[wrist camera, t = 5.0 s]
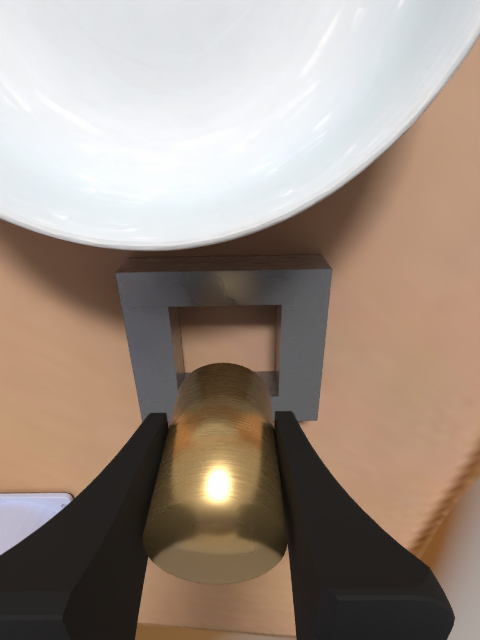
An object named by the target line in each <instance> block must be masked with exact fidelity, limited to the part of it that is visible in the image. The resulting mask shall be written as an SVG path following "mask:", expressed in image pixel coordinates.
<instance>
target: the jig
mask: <svg viewBox="0 0 480 640" xmlns="http://www.w3.org/2000/svg"><path fill="white" fill-rule="evenodd" d="M115 274H116V279H117V285H118V290H119V296H120V301H121V307H122V313H123V318H124V324H125V329H126V335H127V340H128V346H129V351H130V357H131V362H132V368H133V373H134V379H135V384H136V390H137V395H138V401H139V406H140V412H141V417H142V422H143V421H144V420H145V418H146V417H147V416H148V415H149V414H150V413H166V414H167V421H168V423H170V422H171V418H172V414H173V410H174V406H175V402H176V398H177V394H178V390H179V387H180V385H181V383H182V382H183V381H184V379H185V378H186V377H187V376H188V375H189V374H190V373H185V369H184V360H183V350H182V341H181V331H180V322H179V312H178V307H180V306H240V305H277V317H276V351H275V372H255V373H256V374H258V375H259V376H260V377H261V378H262V379H263V381H264V382H265V383H266V385H267V387H268V389H269V391H270V396H271V404H272V412H273V421H275V411H292V412H293V413H294V415H295V417H296V419H297V421H317V418H318V408H319V398H320V388H321V378H322V367H323V357H324V347H325V337H326V327H327V317H328V307H329V296H330V286H331V276H332V268H331V267H330V265H329V264H328V263H327V261H326V260H325V259H324V257H323V256H322V255H271V256H216V257H161V258H129V259H128V260H127V261H126V262H125V263H124V265H123V266H122V267H121V268H120V269H119V270H118V271H117V272H116V273H115Z"/></svg>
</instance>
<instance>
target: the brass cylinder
mask: <svg viewBox="0 0 480 640" xmlns="http://www.w3.org/2000/svg"><path fill="white" fill-rule="evenodd" d="M143 546H144V549H145V551H146V553H147V555H148V556H149V558H150V559H151V560H152V561H153V562H154V563H155V564H156V565H157V566H158V567H160V568H161V569H162V570H164V571H166V572H168V573H169V574H171V575H174V576H176V577H178V578H181V579H184V580H188V581H192V582H197V583H204V584H231V583H238V582H243V581H246V580H250V579H253V578H256V577H258V576H260V575H262V574H264V573H266V572H268V571H269V570H271V569H272V568H273V567H274V566H276V565H277V564H278V563H279V561H280V560H281V559H282V557H283V556H284V554H285V551H286V548H287V534H286V526H285V517H284V508H283V500H282V491H281V482H280V473H279V465H278V456H277V448H276V440H275V431H274V421H273V412H272V404H271V396H270V391H269V389H268V387H267V385H266V383H265V382H264V381H263V379H262V378H261V377H260V376H259V375H258V374H256V373H255V372H253V371H252V370H250V369H248V368H246V367H243V366H240V365H237V364H231V363H214V364H209V365H206V366H203V367H200V368H198V369H196V370H195V371H193V372H192V373H190V374H189V375H188V376H187V377H186V378H185V379H184V381H183V382H182V383H181V385H180V387H179V390H178V394H177V398H176V402H175V406H174V410H173V414H172V418H171V422H170V426H169V430H168V434H167V439H166V443H165V447H164V451H163V455H162V459H161V463H160V467H159V471H158V475H157V479H156V483H155V487H154V492H153V496H152V500H151V504H150V508H149V512H148V516H147V520H146V524H145V528H144V532H143Z"/></svg>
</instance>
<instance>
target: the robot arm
mask: <svg viewBox="0 0 480 640" xmlns="http://www.w3.org/2000/svg"><path fill="white" fill-rule="evenodd" d="M168 430H169V428H168V421H167V414H166V413H150V414H149V415H148V416H147V417H146V418H145V420H144V421H143V422H142V424H141V425H140V426H139V428H138V429H137V430H136V432H135V433H134V434H133V436H132V437H131V438H130V439H129V441H128V442H127V443H126V444H125V445H124V447H123V448H122V449H121V450H120V452H119V453H118V454H117V455H116V456H115V458H114V459H113V460H112V461H111V462H110V463H109V464H108V465H107V466H106V468H105V469H104V470H103V471H102V472H101V473H100V474H99V475H98V476H97V477H96V478H95V479H94V480H93V481H92V482H91V483H90V484H89V485H88V486H87V487H86V488H85V489H84V490H83V491H82V492H81V493H80V494H79V495H78V496H77V497H76V498H75V499H73V498H72V496H71V495H70V494H68V493H6V494H0V640H135V634H136V628H137V621H138V614H139V608H140V602H141V596H142V590H143V583H144V578H145V572H146V566H147V561H148V555H147V553H146V551H145V549H144V546H143V532H144V528H145V524H146V520H147V516H148V512H149V508H150V504H151V500H152V496H153V492H154V487H155V483H156V479H157V475H158V471H159V467H160V463H161V459H162V455H163V451H164V447H165V443H166V439H167V434H168ZM274 431H275V440H276V448H277V456H278V465H279V473H280V482H281V491H282V500H283V508H284V517H285V526H286V534H287V544H288V550H289V560H290V570H291V581H292V592H293V603H294V614H295V625H296V637H297V640H447V638H448V636H449V634H450V632H451V630H452V627H453V625H454V620H455V616H454V613H453V610H452V608H451V605H450V603H449V601H448V599H447V597H446V595H445V593H444V591H443V589H442V588H441V586H440V584H439V582H438V581H437V579H436V578H435V576H434V574H433V573H432V571H431V569H430V568H429V567H428V566H427V565H426V564H424V563H423V562H422V561H421V560H419V559H418V558H417V557H415V556H414V555H413V554H412V553H410V552H409V551H408V550H406V549H405V548H404V547H403V546H401V545H400V544H399V543H398V542H397V541H396V540H394V539H393V538H392V537H391V536H390V535H389V534H388V533H386V532H385V531H384V530H383V529H382V528H381V527H380V526H379V525H378V524H377V523H376V522H375V521H374V520H373V519H372V518H371V517H370V516H369V515H368V514H366V513H365V512H364V511H363V510H362V509H361V508H360V507H359V505H358V504H357V503H356V502H355V501H354V500H353V499H352V498H351V497H350V496H349V495H348V493H347V492H346V491H345V490H344V489H343V488H342V487H341V485H340V484H339V483H338V482H337V480H336V479H335V478H334V477H333V475H332V474H331V473H330V471H329V470H328V469H327V467H326V466H325V465H324V463H323V462H322V461H321V459H320V458H319V456H318V455H317V453H316V452H315V450H314V449H313V447H312V446H311V444H310V442H309V441H308V439H307V437H306V436H305V434H304V432H303V431H302V429H301V427H300V425H299V423H298V421H297V419H296V417H295V415H294V413H293V412H292V411H275V425H274Z"/></svg>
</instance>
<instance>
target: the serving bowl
mask: <svg viewBox="0 0 480 640" xmlns="http://www.w3.org/2000/svg"><path fill="white" fill-rule="evenodd" d="M479 36H480V0H0V219H1V220H4V221H6V222H9V223H11V224H14V225H16V226H19V227H21V228H24V229H27V230H30V231H33V232H37V233H40V234H43V235H46V236H50V237H53V238H57V239H61V240H64V241H69V242H73V243H77V244H82V245H88V246H95V247H101V248H108V249H116V250H131V251H170V250H182V249H189V248H196V247H202V246H207V245H213V244H218V243H222V242H226V241H230V240H234V239H237V238H240V237H244V236H247V235H250V234H253V233H256V232H258V231H261V230H264V229H266V228H269V227H271V226H274V225H276V224H278V223H281V222H283V221H285V220H287V219H289V218H291V217H293V216H295V215H297V214H299V213H301V212H303V211H305V210H306V209H308V208H310V207H312V206H313V205H315V204H317V203H318V202H320V201H322V200H324V199H325V198H327V197H329V196H330V195H331V194H333V193H334V192H336V191H337V190H339V189H340V188H342V187H343V186H344V185H346V184H347V183H348V182H350V181H351V180H352V179H354V178H355V177H356V176H357V175H359V174H360V173H361V172H362V171H364V170H365V169H366V168H367V167H368V166H370V165H371V164H372V163H373V162H374V161H375V160H377V159H378V158H379V157H380V156H381V155H382V154H384V153H385V152H386V151H387V150H388V149H389V148H390V147H391V146H392V145H393V144H394V143H395V142H396V141H397V140H398V139H399V138H400V137H401V136H402V135H403V134H404V133H405V132H406V131H407V130H408V129H409V128H410V127H411V126H412V125H413V124H414V122H415V121H416V120H417V119H418V118H419V117H420V116H421V115H422V114H423V112H424V111H425V110H426V109H427V108H428V107H429V105H430V104H431V103H432V102H433V100H434V99H435V98H436V97H437V95H438V94H439V93H440V92H441V90H442V89H443V88H444V87H445V85H446V84H447V83H448V81H449V80H450V79H451V77H452V76H453V74H454V73H455V72H456V70H457V69H458V68H459V66H460V65H461V64H462V62H463V61H464V59H465V58H466V57H467V55H468V54H469V52H470V50H471V49H472V47H473V46H474V44H475V43H476V41H477V40H478V38H479Z"/></svg>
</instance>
